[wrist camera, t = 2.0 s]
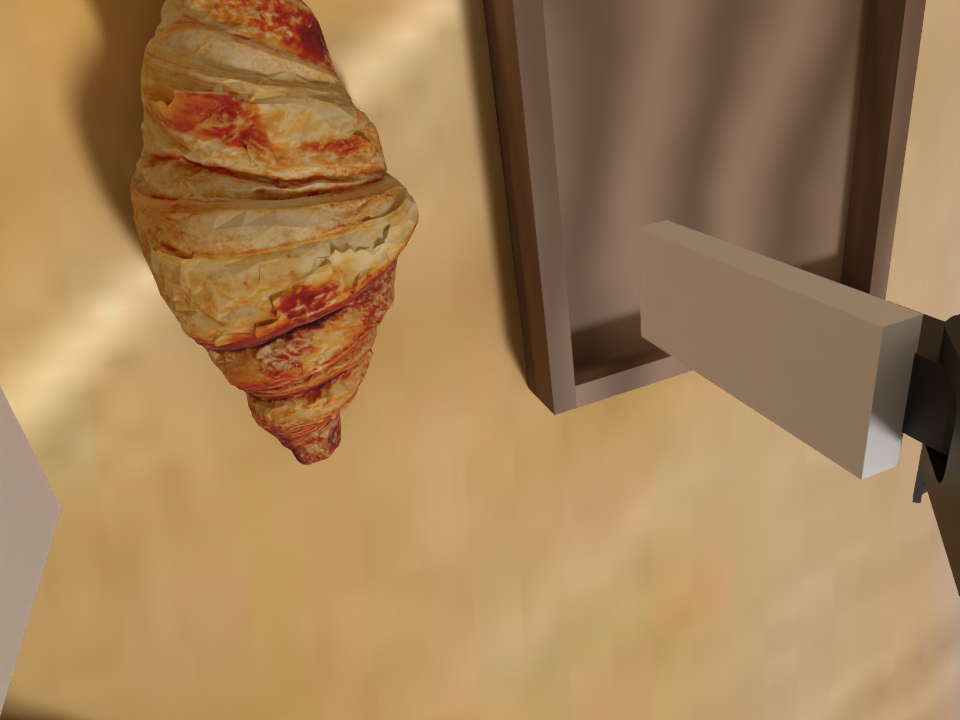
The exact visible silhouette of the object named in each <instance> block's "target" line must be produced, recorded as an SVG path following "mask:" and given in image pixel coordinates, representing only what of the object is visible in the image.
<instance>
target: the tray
mask: <svg viewBox="0 0 960 720" xmlns="http://www.w3.org/2000/svg"><path fill="white" fill-rule="evenodd" d="M483 2H484V10H485V19H486V27H487V36H488V44H489V53H490V61H491V70H492V78H493V87H494V95H495V104H496V112H497V121H498V129H499V137H500V146H501V154H502V163H503V171H504V180H505V188H506V197H507V205H508V214H509V222H510V231H511V239H512V248H513V256H514V264H515V273H516V281H517V290H518V298H519V307H520V315H521V324H522V332H523V341H524V349H525V358H526V366H527V375H528V383H529V389H530V390H531V391H532V392H533V393H534V394H535V395H536V396H537V397H538V398H539V399H540V401H541V402H542V403H543V404H544V405H545V406H546V407H547V408H548V409H549V410H550V411H551V412H552V413H553V414H554V415H556V414H559V413H562V412H565V411H568V410H571V409H574V408H577V407H581V406H584V405H587V404H590V403H593V402H596V401H599V400H602V399H605V398H608V397H612V396H615V395H618V394H621V393H624V392H627V391H630V390H633V389H636V388H639V387H643V386H646V385H649V384H652V383H655V382H658V381H661V380H664V379H667V378H670V377H674V376H677V375H680V374H683V373H686V372H689V371H692V369H691V368H689V367H688V366H686V365H685V364H683V363H682V362H680V361H678V360H677V359H675V358H674V357H672V356H671V355H669V354H668V353H666V352H665V351H663V350H662V349H660V348H658V347H657V346H655V345H654V344H652V343H651V342H649V341H648V340H646V339H645V338H643V337H642V336H641V313H640V280H639V248H638V227H641V226H645V225H649V224H653V223H657V222H661V221H665V220H668V221H671V222H674V223H676V224H679V225H682V226H685V227H687V228H690V229H693V230H696V231H698V232H701V233H704V234H706V235H709V236H712V237H715V238H717V239H720V240H723V241H726V242H728V243H731V244H734V245H736V246H739V247H742V248H745V249H747V250H750V251H753V252H755V253H758V254H761V255H764V256H766V257H769V258H772V259H775V260H777V261H780V262H783V263H785V264H788V265H791V266H794V267H796V268H799V269H802V270H805V271H807V272H810V273H813V274H815V275H818V276H821V277H824V278H826V279H829V280H832V281H835V282H837V283H841V284H843V285H846V286H849V287H851V288H854V289H857V290H860V291H862V292H865V293H867V294H871V295H873V296H876V297H879V298H881V299H884V300H885V298H886V290H887V283H888V276H889V268H890V261H891V254H892V246H893V239H894V231H895V224H896V217H897V209H898V202H899V195H900V187H901V180H902V173H903V165H904V158H905V151H906V143H907V136H908V128H909V121H910V114H911V106H912V99H913V92H914V84H915V77H916V70H917V62H918V55H919V48H920V40H921V33H922V26H923V18H924V11H925V3H926V0H483Z"/></svg>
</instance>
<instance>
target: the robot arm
mask: <svg viewBox="0 0 960 720" xmlns="http://www.w3.org/2000/svg"><path fill="white" fill-rule="evenodd" d="M638 248H639V280H640V313H641V336H642V337H643V338H645V339H646V340H648V341H649V342H651V343H652V344H654V345H655V346H657V347H658V348H660V349H662V350H663V351H665V352H666V353H668V354H669V355H671V356H672V357H674V358H675V359H677V360H678V361H680V362H682V363H683V364H685V365H686V366H688V367H689V368H691V369H692V370H694V371H695V372H697V373H698V374H700V375H701V376H703V377H705V378H706V379H708V380H709V381H711V382H712V383H714V384H715V385H717V386H718V387H720V388H721V389H723V390H725V391H726V392H728V393H729V394H731V395H732V396H734V397H735V398H737V399H738V400H740V401H741V402H743V403H744V404H746V405H748V406H749V407H751V408H752V409H754V410H755V411H757V412H758V413H760V414H761V415H763V416H764V417H766V418H768V419H769V420H771V421H772V422H774V423H775V424H777V425H778V426H780V427H781V428H783V429H784V430H786V431H788V432H789V433H791V434H792V435H794V436H795V437H797V438H798V439H800V440H801V441H803V442H804V443H806V444H807V445H809V446H811V447H812V448H814V449H815V450H817V451H818V452H820V453H821V454H823V455H824V456H826V457H827V458H829V459H831V460H832V461H834V462H835V463H837V464H838V465H840V466H841V467H843V468H844V469H846V470H847V471H849V472H850V473H852V474H854V475H855V476H857V477H858V478H860V479H861V480H862V479H865V478H867V477H870V476H872V475H875V474H877V473H880V472H882V471H885V470H887V469H890V468H893V467H895V466H898V462H899V456H900V450H901V444H902V438H903V433H905V434H907V435H908V436H910V437H912V438H914V439H916V440H918V441H919V442H921V443H923V444H922V450H921V455H920V461H919V466H918V472H917V477H916V482H915V488H914V493H913V502H916V503H920V502H921V497H922V494H924V493H925V492H927V491H928V494H929V498H930V501H931V504H932V507H933V511H934V514H935V517H936V521H937V524H938V527H939V531H940V534H941V537H942V540H943V544H944V547H945V550H946V554H947V557H948V560H949V563H950V567H951V570H952V573H953V577H954V580H955V583H956V586H957V590H958V593H959V596H960V314H959V315H955V316H952V317H951V318H949V319H948V320H947V321H945V322H944V321H941V320H939V319H936V318H933V317H931V316H928V315H925V314H922V313H920V312H917V311H914V310H911V309H909V308H906V307H903V306H901V305H898V304H895V303H892V302H890V301H886V300H884V299H881V298H879V297H876V296H873V295H871V294H867V293H865V292H862V291H860V290H857V289H854V288H851V287H849V286H846V285H843V284H841V283H837V282H835V281H832V280H829V279H826V278H824V277H821V276H818V275H815V274H813V273H810V272H807V271H805V270H802V269H799V268H796V267H794V266H791V265H788V264H785V263H783V262H780V261H777V260H775V259H772V258H769V257H766V256H764V255H761V254H758V253H755V252H753V251H750V250H747V249H745V248H742V247H739V246H736V245H734V244H731V243H728V242H726V241H723V240H720V239H717V238H715V237H712V236H709V235H706V234H704V233H701V232H698V231H696V230H693V229H690V228H687V227H685V226H682V225H679V224H676V223H674V222H671V221H668V220H665V221H661V222H657V223H653V224H649V225H645V226H641V227H638ZM61 510H62V507H61V505H60V503H59V502H58V500H57V498H56V496H55V494H54V492H53V490H52V488H51V486H50V484H49V482H48V480H47V478H46V476H45V474H44V472H43V470H42V468H41V466H40V464H39V462H38V460H37V458H36V456H35V454H34V452H33V450H32V448H31V446H30V444H29V442H28V440H27V438H26V436H25V434H24V432H23V430H22V428H21V426H20V424H19V423H18V421H17V419H16V417H15V415H14V413H13V411H12V409H11V407H10V405H9V403H8V401H7V399H6V397H5V395H4V393H3V391H2V389H1V387H0V715H1V711H2V708H3V705H4V701H5V698H6V695H7V691H8V688H9V685H10V681H11V678H12V674H13V671H14V668H15V664H16V661H17V658H18V654H19V651H20V648H21V644H22V641H23V637H24V634H25V631H26V627H27V624H28V621H29V617H30V614H31V611H32V607H33V604H34V600H35V597H36V594H37V590H38V587H39V584H40V580H41V577H42V574H43V570H44V567H45V563H46V560H47V557H48V553H49V550H50V547H51V543H52V540H53V537H54V533H55V530H56V526H57V523H58V520H59V516H60V513H61Z"/></svg>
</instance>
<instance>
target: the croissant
mask: <svg viewBox="0 0 960 720" xmlns="http://www.w3.org/2000/svg"><path fill="white" fill-rule="evenodd" d="M141 100H142V102H143V105H144V121H143V122H142V124H141V131H142V140H143V144H144V147H143V149H142V152H141V156H140V159H139V160H138V162H137V164H136V168H137V169H136V171H135V172H134V174H133V176H132V180H131V183H130V196H131V202H132V205H133V209H134V216H133V220H134V223H135V227H136V230H137V233H138V237H139V240H140V244H141V248H142V251H143V254H144V256H145V259H146V261H147V263H148V265H149V267H150V269H151V272H152V274H153V276H154V279H155V281H156V284H157V286H158V289H159V292H160V295H161V296H162V297H163V299H164V300H165V301H166V303H167V305H168V306H169V308H170V309H171V311H172V312H173V314H174V315H175V317H176V318H177V320H178V321H179V322H180V324H181V327H182V329H183V332H184V333H185V334H186V335H187V336H189V337H191V338H193V339H194V340H195V341H196V343H198V344H200V345H202V346H203V347H204V348H205V349H206V350H207V352H208V354H209V356H210V358H211V360H212V361H213V363H214V364H215V365H216V366H217V367H218V368H219V369H220V370H221V371H222V373H223V374H224V375H225V377H226V379H227V380H228V381H229V383H230V384H231V385H234V386H236V387H237V388H239V389H240V390H243V391H245V392H246V394H247V399H248V405H249V408H250V410H251V412H252V417H253V418H254V419H255V421H256V422H257V424H258V425H259V426H260V427H262V428H263V429H265V430H266V431H268V432H269V433H271V434H272V435H273V436H275V437H276V438H277V439H278V440H279V441H280V442H281V444H282V445H283V446H285V447H286V448H288V449H290V450H291V451H292V452H293V454H294V456H295V457H296V459H297V460H298V461H299V462H300V463H302V464H305V465H309V464H312V463H315V462H318V461H321V460H324V459H327V458H329V457H330V456H331V455H332V453H333V452H334V450H335V449H336V448H337V447H338V446H339V443H340V441H341V421H340V411H341V410H343V409H345V408H346V407H347V406H348V405H349V403H350V402H351V401H352V400H353V399H354V397H355V395H356V393H357V391H358V387H359V385H360V384H361V382H362V381H363V378H365V377H364V376H365V374H366V372H367V369H368V366H369V363H370V360H371V358H372V356H373V352H372V351H371V348H372V346H373V343H374V341H375V338H376V335H377V325H380V322H382V319H383V317H384V315H385V313H386V311H387V310H388V309H389V308H391V307H392V306H393V302H394V292H395V290H394V283H395V274H396V265H397V257H398V255H399V254H400V253H401V251H402V250H403V249H404V248H405V246H406V245H407V243H408V241H409V239H410V237H411V235H412V233H413V232H414V229H415V227H416V225H417V223H418V217H419V215H418V209H417V203H416V202H415V200H414V199H413V197H412V196H411V195H409V194H408V192H407V189H406V188H405V187H404V186H403V185H402V184H401V183H400V182H399V181H398V180H397V179H395V178H394V177H392V176H391V175H389V174H388V173H386V170H387V168H386V163H385V159H384V155H383V151H382V148H381V144H380V140H379V136H378V133H377V130H376V127H375V125H374V123H372V122H370V120H369V119H368V117H367V116H366V114H365V113H363V112H362V111H360V110H358V109H357V108H356V107H355V106H354V104H353V103H352V100H351V97H350V96H349V95H348V94H347V92H346V91H345V89H344V88H343V86H342V84H341V82H340V81H339V79H338V78H337V76H336V72H335V69H334V66H333V64H332V61H331V58H330V55H329V52H328V49H327V46H326V43H325V40H324V37H323V34H322V31H321V28H320V25H319V22H318V21H317V19H316V17H315V16H314V14H313V12H312V11H311V9H310V8H309V7H308V6H307V5H306V4H305V3H304V2H303V1H302V0H165V2H164V4H163V6H162V8H161V23H160V24H159V25H158V26H157V29H156V31H155V37H153V38H152V39H151V40H150V41H149V42H148V44H147V46H146V49H145V51H144V58H143V64H142V70H141Z"/></svg>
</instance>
